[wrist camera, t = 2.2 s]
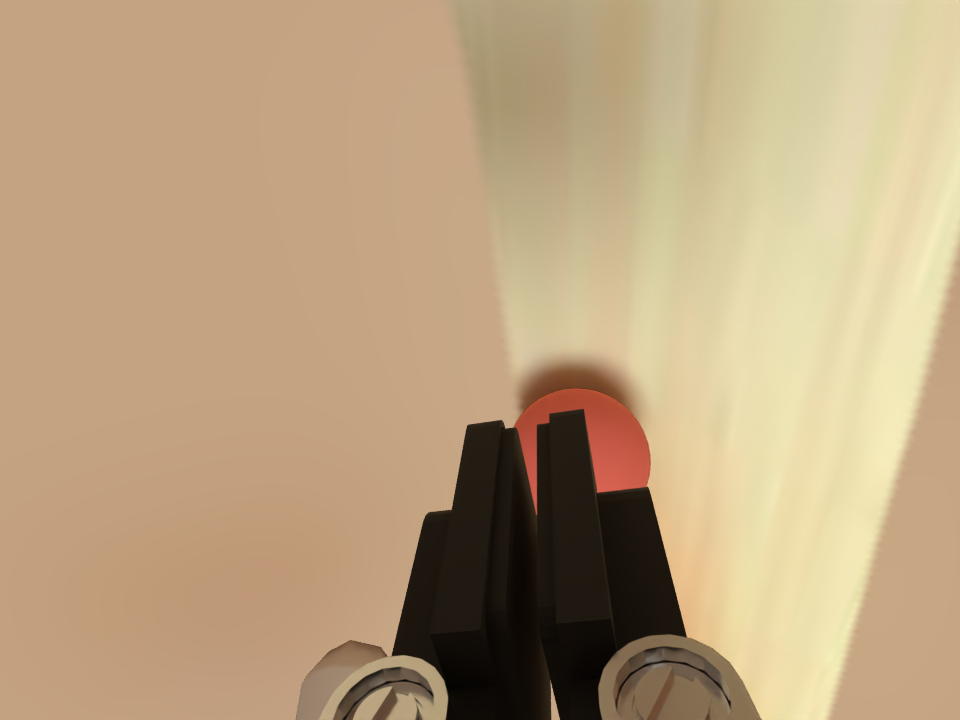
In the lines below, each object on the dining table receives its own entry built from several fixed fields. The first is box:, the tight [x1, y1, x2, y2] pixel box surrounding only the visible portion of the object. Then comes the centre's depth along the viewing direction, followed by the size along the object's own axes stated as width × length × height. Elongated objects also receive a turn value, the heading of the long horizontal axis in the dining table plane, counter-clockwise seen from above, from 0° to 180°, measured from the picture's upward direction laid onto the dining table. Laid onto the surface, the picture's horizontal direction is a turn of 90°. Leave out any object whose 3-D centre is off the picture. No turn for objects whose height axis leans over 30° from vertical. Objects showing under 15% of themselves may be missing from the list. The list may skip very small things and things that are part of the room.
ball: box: [513, 388, 651, 515], centre depth 27 cm, size 6×6×6 cm
